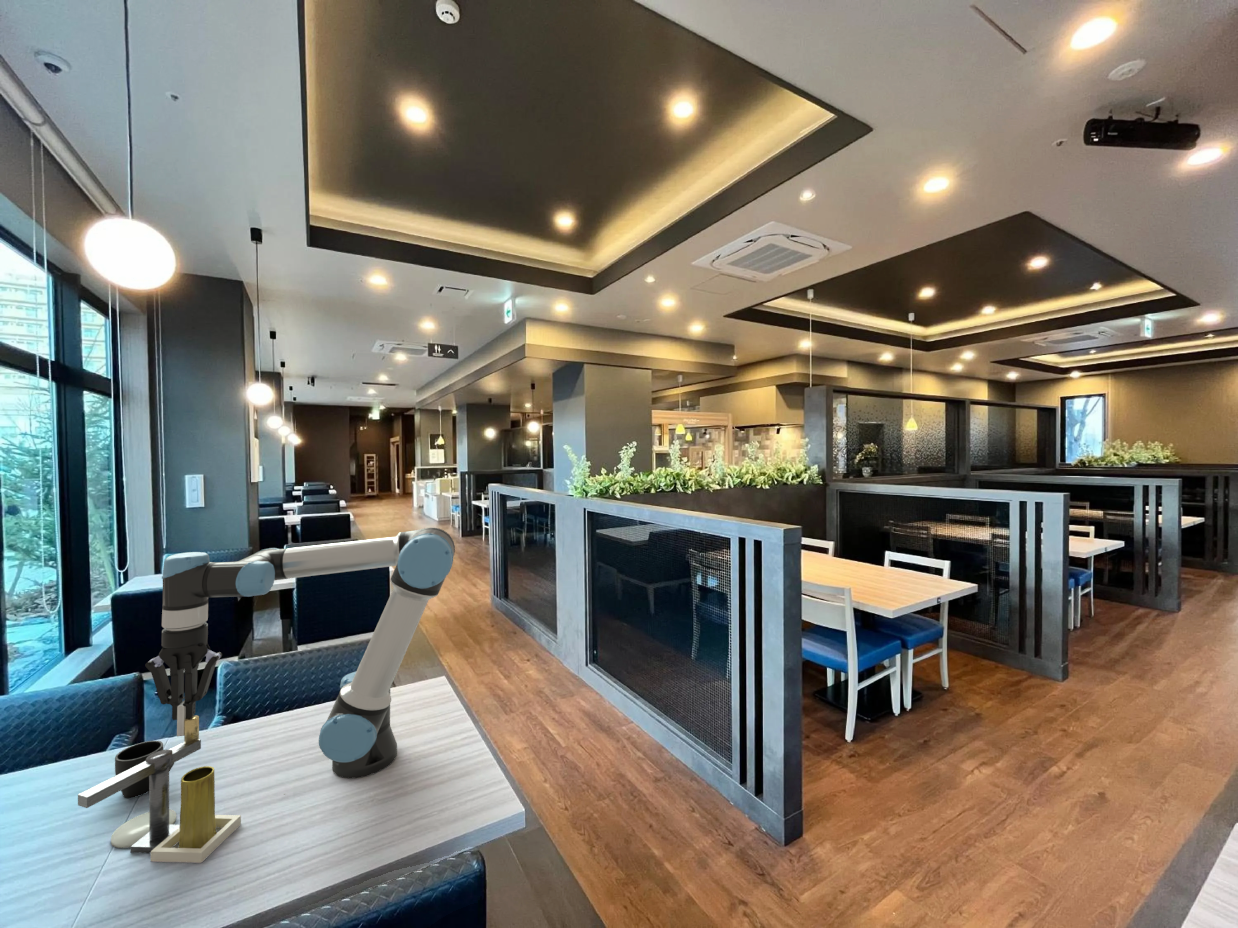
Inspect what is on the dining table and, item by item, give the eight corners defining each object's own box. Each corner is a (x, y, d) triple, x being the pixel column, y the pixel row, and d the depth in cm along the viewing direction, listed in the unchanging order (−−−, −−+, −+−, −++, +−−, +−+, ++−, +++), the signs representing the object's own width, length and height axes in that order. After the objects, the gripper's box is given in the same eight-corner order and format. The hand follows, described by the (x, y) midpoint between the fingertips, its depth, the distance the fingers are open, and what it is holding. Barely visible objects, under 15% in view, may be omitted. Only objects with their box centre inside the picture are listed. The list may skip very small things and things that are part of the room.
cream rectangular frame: (240, 824, 107) (240, 815, 107) (201, 862, 97) (201, 852, 97) (194, 823, 107) (194, 814, 107) (150, 861, 97) (150, 851, 97)
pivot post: (186, 830, 105) (186, 759, 104) (160, 853, 99) (160, 778, 98) (158, 829, 105) (158, 758, 104) (130, 852, 99) (130, 777, 98)
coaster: (188, 812, 110) (188, 809, 110) (145, 848, 100) (145, 844, 100) (144, 811, 110) (144, 808, 110) (96, 847, 100) (96, 843, 100)
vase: (193, 831, 104) (193, 764, 104) (224, 830, 105) (224, 763, 105) (169, 854, 98) (169, 784, 98) (202, 853, 99) (202, 782, 99)
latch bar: (89, 808, 89) (89, 770, 89) (75, 804, 90) (74, 766, 90) (204, 748, 108) (204, 716, 108) (191, 745, 109) (191, 713, 109)
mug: (157, 802, 113) (157, 761, 113) (104, 801, 113) (104, 760, 112) (188, 778, 121) (188, 740, 121) (138, 778, 121) (138, 739, 121)
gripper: (228, 617, 113) (226, 719, 113) (158, 621, 108) (156, 727, 109) (213, 628, 105) (211, 737, 106) (137, 633, 101) (136, 747, 102)
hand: (183, 732), depth 107 cm, fingers closed
